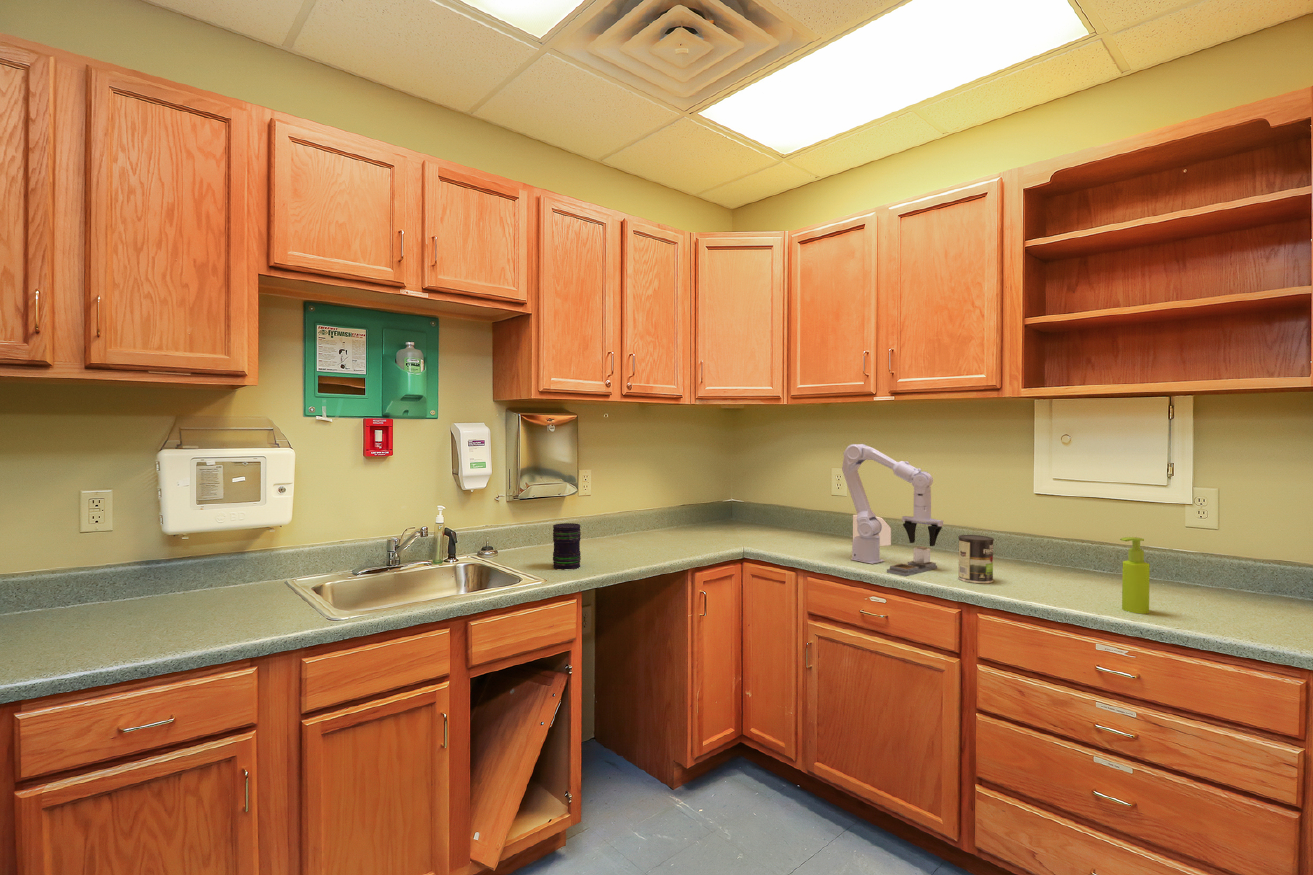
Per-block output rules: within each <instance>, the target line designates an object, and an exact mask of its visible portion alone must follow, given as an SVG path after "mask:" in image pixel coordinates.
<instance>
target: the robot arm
mask: <svg viewBox="0 0 1313 875" xmlns="http://www.w3.org/2000/svg"><path fill="white" fill-rule="evenodd" d="M842 455H843V460H842V467H841V470H842V473H843V476H844V479H845V482H846V485H847V487H848V490H849V493H850V497H851V499H852V503H853V505H854V508H855V511H856V515H857V519H856V520H857V524H858V526H857V531H858V533H859V536H856V537H855V538H854V539H853V538H852V546H851V548H852V551H851V556H852V557H851V558H850V560H851V561H855V562H862V563H866V564H871V565H872V564H873V565H874V564H877V563H883V562H885V559H882V558H880V555H881V551H880V549H881V546H880V536H879V533H880V532H881V530H882V525H881V522H880V521H879V520H878V519H877V518H876V517H877V516H876V513H874V512H873V510H872V507H871V505H870V502H869V500H868V497H867V494H866V491H865V488H864V486H863V482H862V480H861V477H860V474H859V471H858V470H859V468H860V467H861V465H862V463H864V462H865V461H868V460H872V461H874V462H876V463H878V464H881V465H882V466H884V467H887V468H888V469H891V470H892V471H893V474H894V476H896V477H898V478H900V479H902V480H904V481H906V482H908V483H909V484H911V485H912V487H913V516H907V515H904V516H901V522H903V523H902V525H903V527H904V530H905V531H906V534H907V537H908V541H909V543H910V544H914V543H915V542H916V529H917V525H918V524H920V525H928V526H927V530H928V535H929V546H930V547H935V546H936V542H937V538H938V536H939V533H940V532H941V530H942V529H943V527H944V520H941V519H935V518H932V493H931V492H932V490H931V489H932V485H933V483H934V479H933V476H932V474H930V473H929V472H928V471H926V470H925V471H922V468H917V467H915V466H913V465H911V464H910V462H909V461H907V460H905V461H904V460H901V461H896V460H895V459H893V458H892V457H890V456H888V455H886V454H885V453H883V452H881V451H879V450H878V449H876V448H874V447H871V446H869V445H866V444H865V443H859V444H857V443H856V444H855V443H854V444H853V443H851V444H849V445H848V446H847V447H846V448H845V450H844V452H843V454H842Z"/></svg>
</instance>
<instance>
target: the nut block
mask: <svg viewBox="0 0 1313 875" xmlns="http://www.w3.org/2000/svg"><path fill="white" fill-rule="evenodd" d="M912 561H913V563H918V564H923V565H926V564H930V562H931V548H928V547H927V546H917V547H913V560H912Z"/></svg>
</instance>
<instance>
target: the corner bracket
mask: <svg viewBox="0 0 1313 875" xmlns="http://www.w3.org/2000/svg"><path fill="white" fill-rule="evenodd" d="M876 518H877V519H878V520H879V521H880V522H881V525H882V530H881V532H880V533H879V536H880V547H881V546H883V547H884V546H886V547H887V546H892V542H891V541H892V528H891V527H890V525H889V524H888V523H887V522H886V521H885V519H884V518H883V517H879V516H876ZM856 519H857V514H853V515H852V540H853V539H854V538H855V537H856V536H859V533H858V531H857V526H858V524H857V520H856Z"/></svg>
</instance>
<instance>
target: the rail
mask: <svg viewBox="0 0 1313 875" xmlns="http://www.w3.org/2000/svg"><path fill="white" fill-rule="evenodd" d="M936 569H938V565H937V562H934V561H933V562H932V561H930V564H926V565H923V564H918V563H913V560H911V561H907V564H906V563H905V564H904V563H898V564H894V565H892V564H891V565H889V568H887V569H886V573H888V574H894V575H898V576H903V577H907V576H912V575H915V574H916V575H917V574H920V573H924V572H928V571H929V572H930V571H933V570H936Z"/></svg>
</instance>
